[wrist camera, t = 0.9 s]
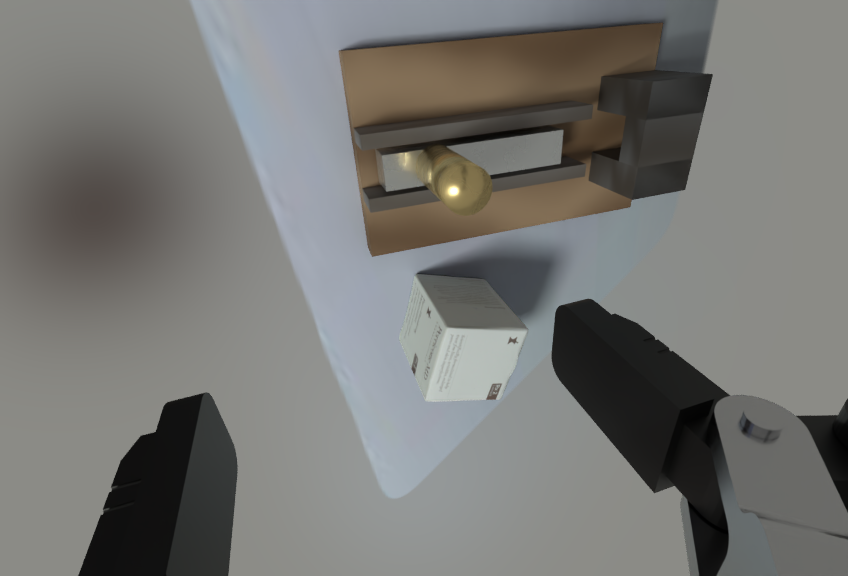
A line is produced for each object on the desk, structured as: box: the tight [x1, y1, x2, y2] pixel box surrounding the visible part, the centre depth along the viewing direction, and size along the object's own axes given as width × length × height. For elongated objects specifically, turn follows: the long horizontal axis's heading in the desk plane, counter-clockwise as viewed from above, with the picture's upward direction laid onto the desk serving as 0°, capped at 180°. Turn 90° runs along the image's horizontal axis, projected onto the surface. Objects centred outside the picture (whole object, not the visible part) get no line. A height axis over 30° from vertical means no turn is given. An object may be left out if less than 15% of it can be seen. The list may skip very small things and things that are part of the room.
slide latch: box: [375, 125, 563, 216], centre depth 24 cm, size 2×11×7 cm, turn 94°
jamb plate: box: [339, 23, 712, 257], centre depth 27 cm, size 12×20×6 cm, turn 94°
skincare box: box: [399, 274, 528, 402], centre depth 31 cm, size 6×6×7 cm
